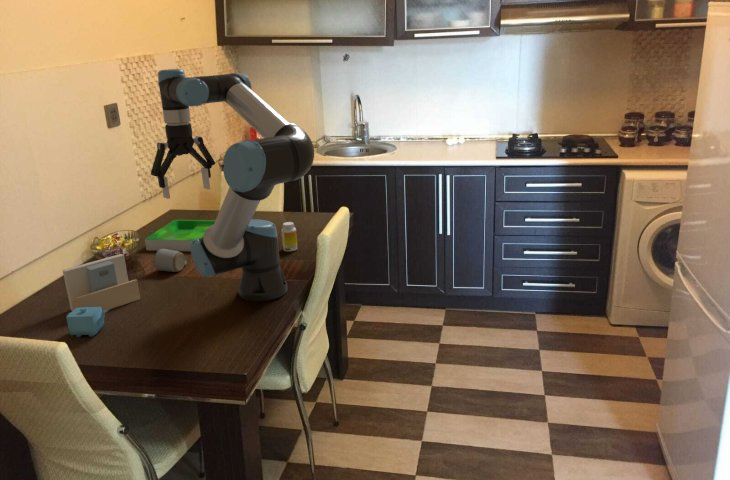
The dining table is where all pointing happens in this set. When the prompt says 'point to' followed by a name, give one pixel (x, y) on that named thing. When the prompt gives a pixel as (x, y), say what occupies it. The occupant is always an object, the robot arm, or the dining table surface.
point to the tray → (177, 235)
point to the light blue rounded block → (85, 321)
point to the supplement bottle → (289, 237)
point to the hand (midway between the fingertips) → (187, 193)
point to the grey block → (101, 276)
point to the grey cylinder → (169, 260)
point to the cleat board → (106, 297)
